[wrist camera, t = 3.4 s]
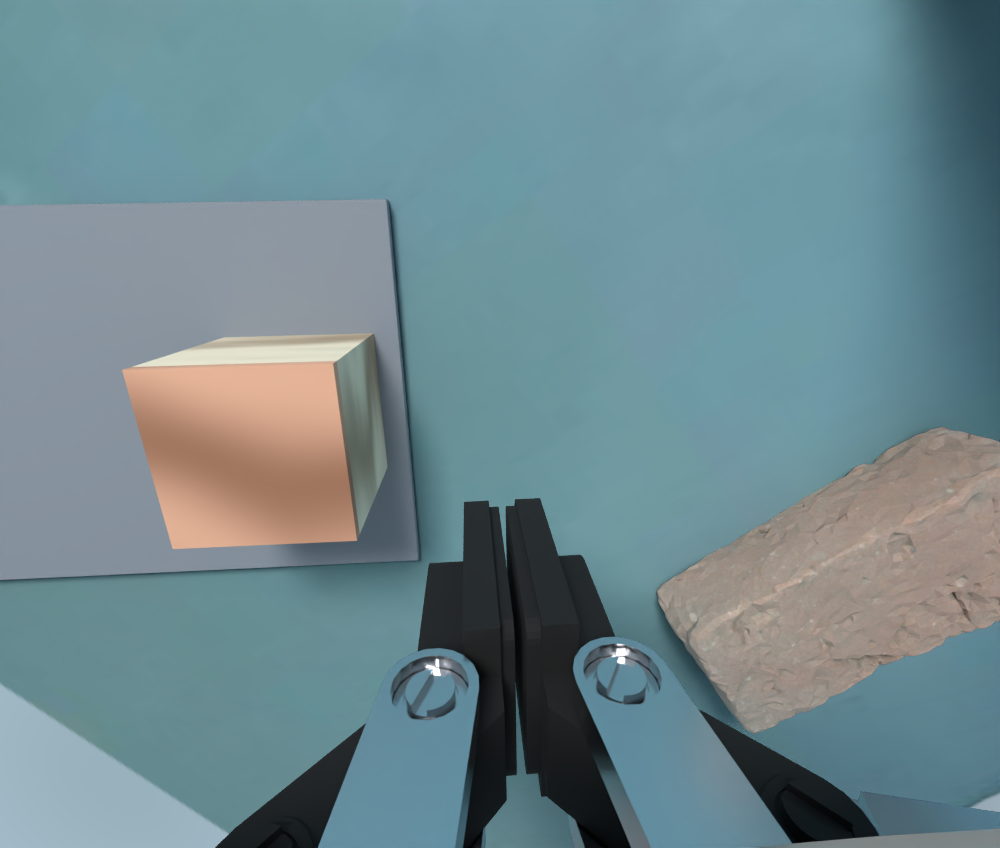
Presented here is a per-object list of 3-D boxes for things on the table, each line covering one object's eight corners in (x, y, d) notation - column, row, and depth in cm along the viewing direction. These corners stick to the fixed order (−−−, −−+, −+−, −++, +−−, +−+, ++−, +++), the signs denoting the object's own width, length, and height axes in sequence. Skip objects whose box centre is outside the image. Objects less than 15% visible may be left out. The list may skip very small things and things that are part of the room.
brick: (712, 678, 28) (757, 756, 24) (644, 583, 26) (680, 651, 21) (982, 531, 26) (1087, 587, 21) (935, 412, 23) (1044, 447, 19)
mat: (-210, 210, 18) (-233, 209, 17) (388, 201, 19) (386, 199, 18) (-42, 574, 23) (-55, 582, 22) (419, 553, 24) (418, 560, 23)
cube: (224, 337, 20) (122, 370, 14) (373, 333, 20) (333, 363, 14) (252, 472, 21) (172, 549, 16) (387, 466, 22) (357, 540, 16)
